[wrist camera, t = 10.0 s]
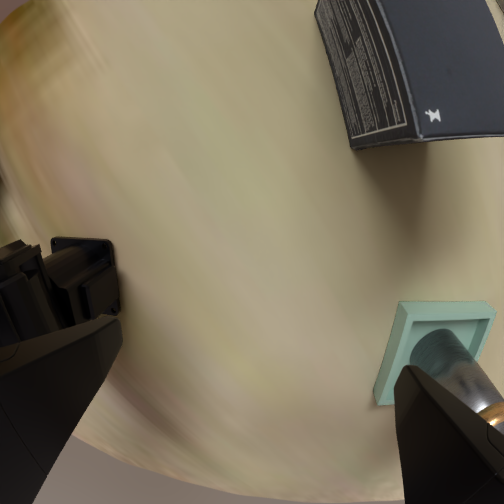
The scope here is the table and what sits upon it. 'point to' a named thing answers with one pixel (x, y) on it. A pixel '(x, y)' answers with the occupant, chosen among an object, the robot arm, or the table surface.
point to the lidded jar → (459, 374)
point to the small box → (414, 69)
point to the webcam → (501, 4)
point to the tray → (423, 322)
